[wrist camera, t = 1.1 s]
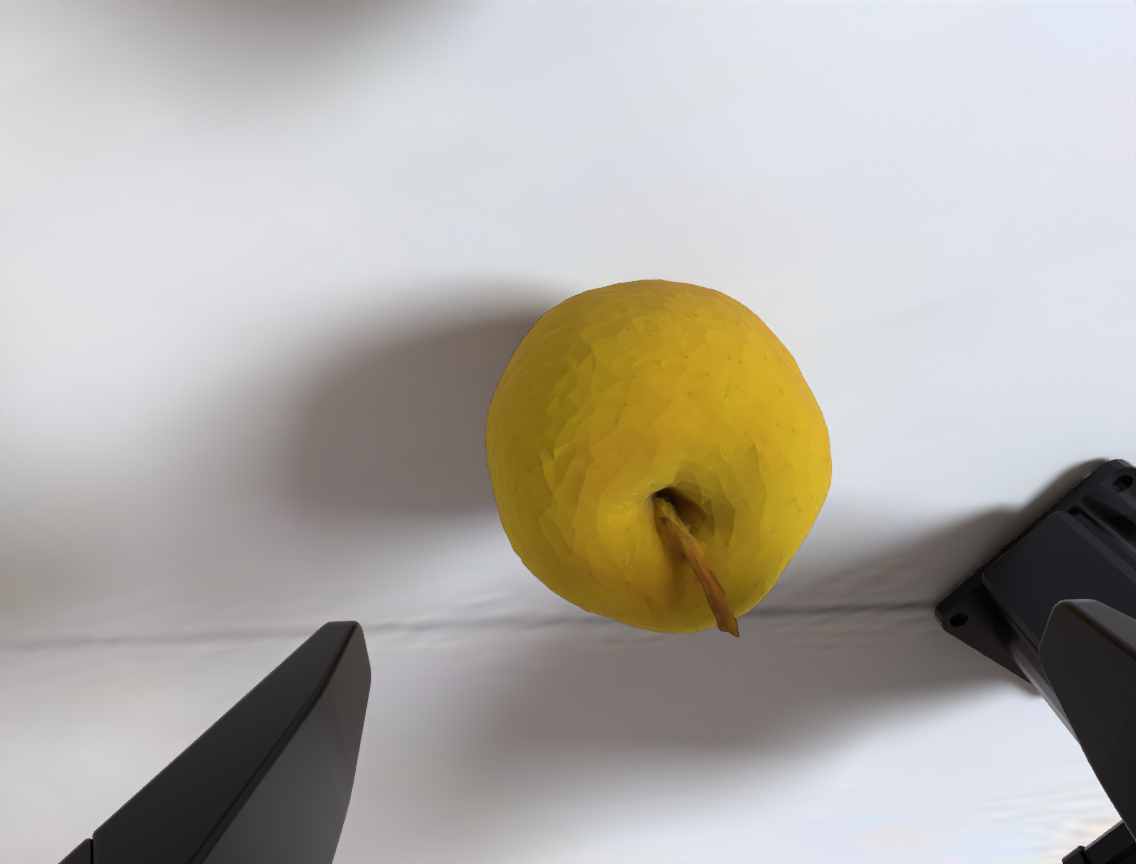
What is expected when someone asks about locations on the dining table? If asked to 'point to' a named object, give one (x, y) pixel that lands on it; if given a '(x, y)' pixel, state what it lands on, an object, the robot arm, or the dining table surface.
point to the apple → (656, 455)
